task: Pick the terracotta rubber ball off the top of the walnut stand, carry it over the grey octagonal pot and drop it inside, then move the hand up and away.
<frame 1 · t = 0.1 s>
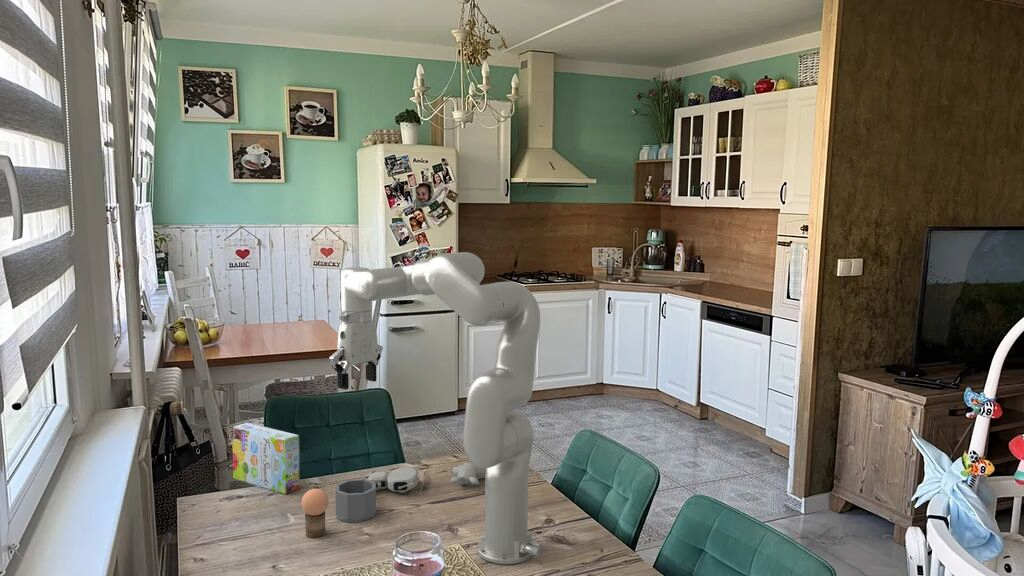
hand: (357, 384, 178), 31 cm above the table, tool pointing down, fingers open, 9 cm apart
ball: (315, 502, 164), point 8 cm above the table, touching stand
bunny figurine: (468, 483, 197), on the table
stand: (315, 533, 165), on the table
snack box: (266, 484, 194), on the table
robot toy: (390, 489, 192), on the table
grey octagonal pot: (356, 513, 176), on the table
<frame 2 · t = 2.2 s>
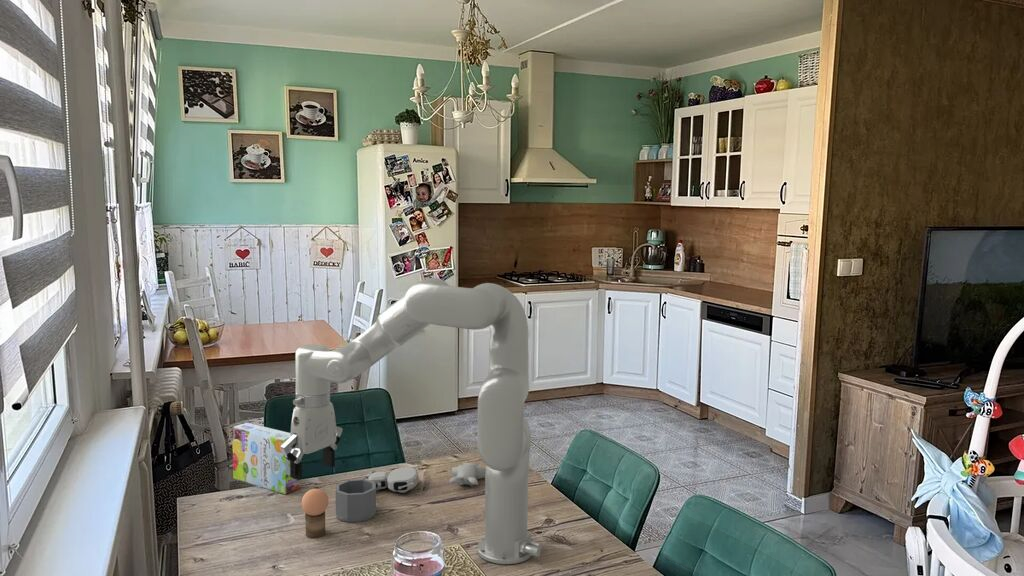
hand: (312, 472, 163), 15 cm above the table, tool pointing down, fingers open, 9 cm apart
nothing on the table moved.
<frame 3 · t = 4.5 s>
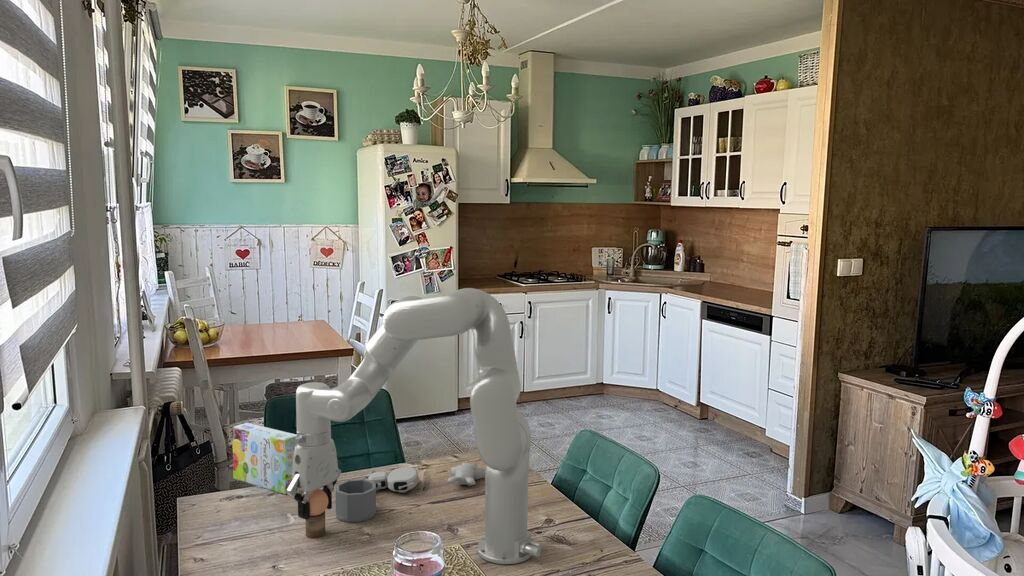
hand: (315, 512, 164), 5 cm above the table, tool pointing down, fingers closed on ball, 6 cm apart
ball: (315, 502, 164), point 8 cm above the table, touching gripper, stand
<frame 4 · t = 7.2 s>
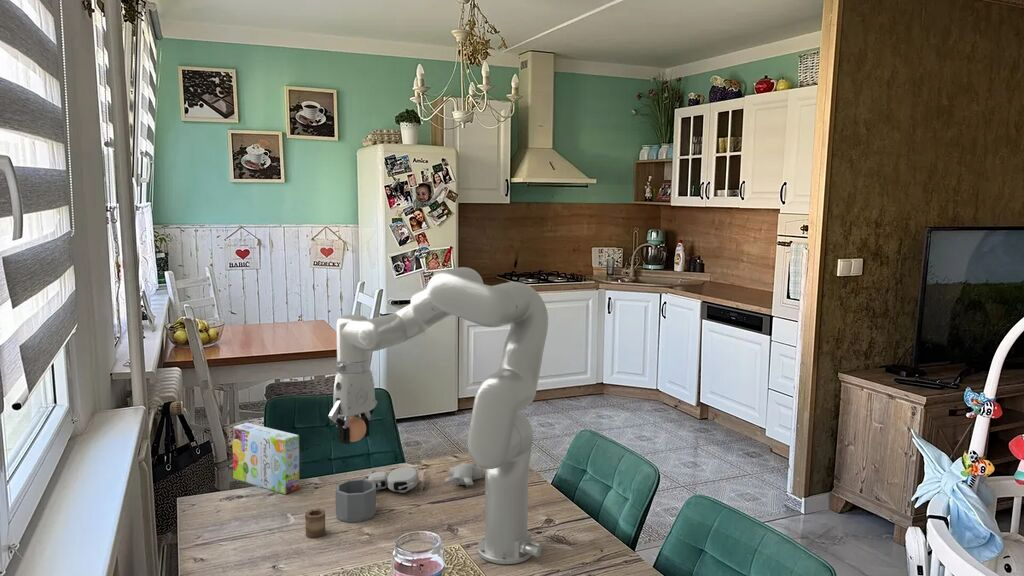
hand: (354, 438, 173), 19 cm above the table, tool pointing down, fingers closed on ball, 6 cm apart
ball: (353, 429, 173), point 22 cm above the table, touching gripper
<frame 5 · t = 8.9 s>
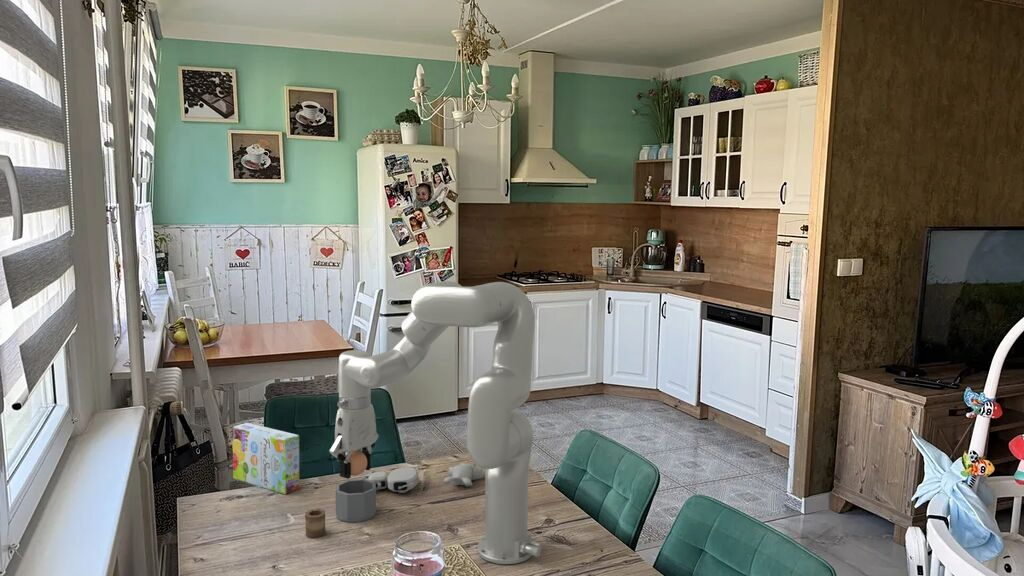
hand: (355, 472, 175), 11 cm above the table, tool pointing down, fingers closed on ball, 6 cm apart
ball: (354, 463, 174), point 13 cm above the table, touching gripper
when the fingers open (10 cm above the table, at t = 10.3 s): ball drops 8 cm, resting on grey octagonal pot.
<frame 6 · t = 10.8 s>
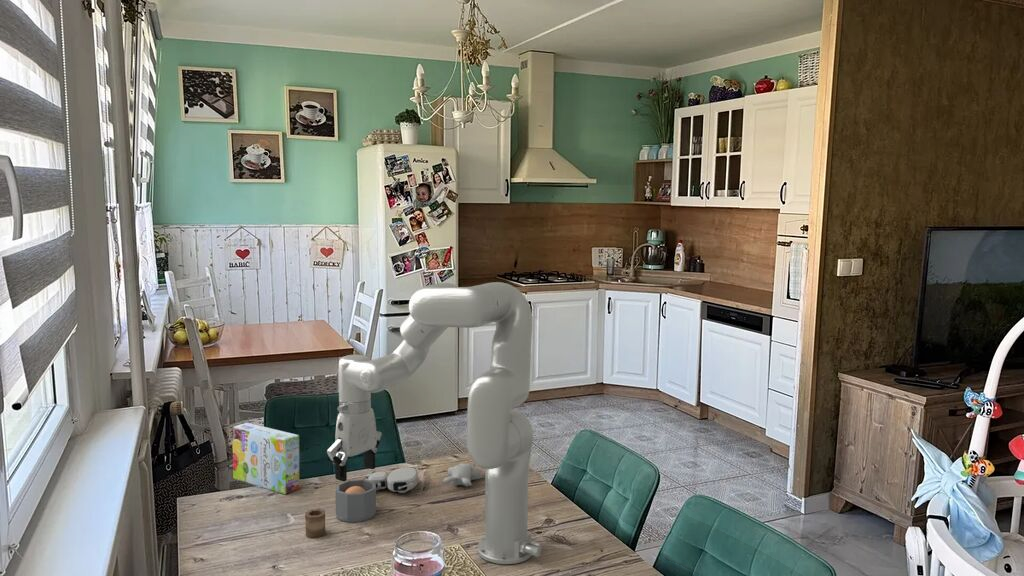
hand: (355, 473, 175), 10 cm above the table, tool pointing down, fingers open, 9 cm apart
ball: (355, 498, 175), point 4 cm above the table, tilted 6°, touching grey octagonal pot
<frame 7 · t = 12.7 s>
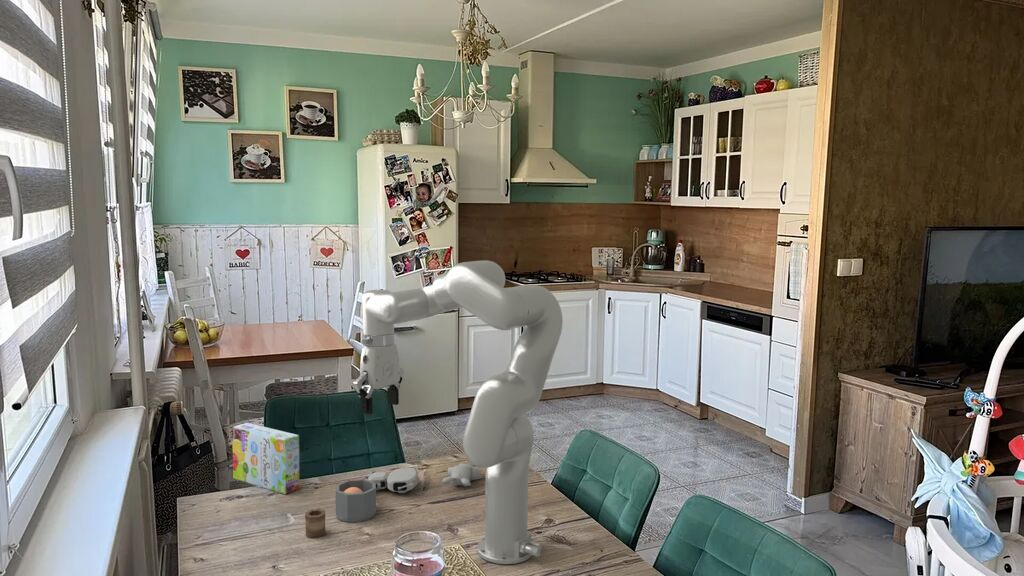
hand: (380, 408, 176), 26 cm above the table, tool pointing down, fingers open, 9 cm apart
ball: (352, 499, 175), point 4 cm above the table, tilted 21°, touching grey octagonal pot
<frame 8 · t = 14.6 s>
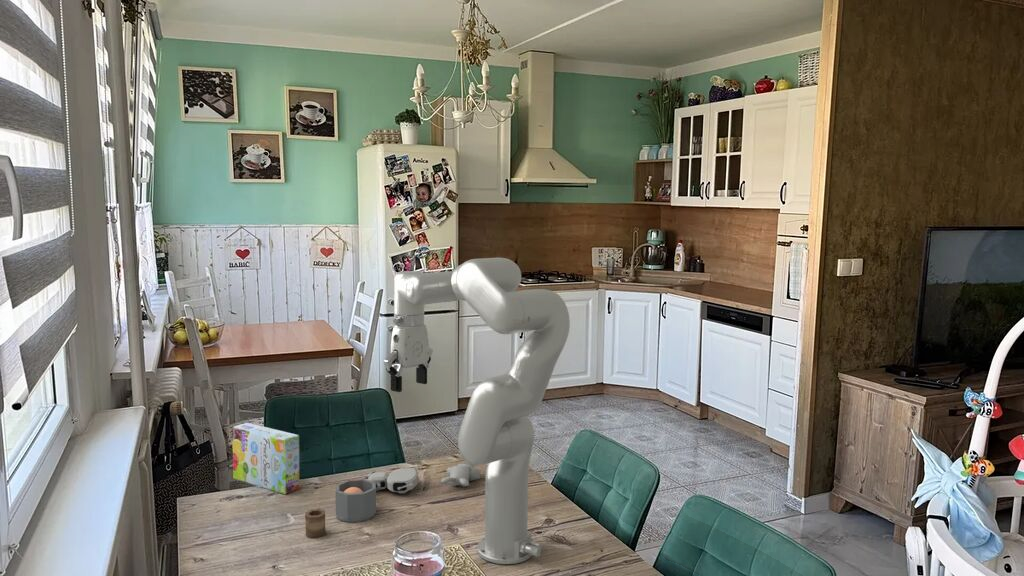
hand: (409, 387, 180), 30 cm above the table, tool pointing down, fingers open, 9 cm apart
at the end: ball 0.9 cm off-centre on the grey octagonal pot, point 4.0 cm above the grey octagonal pot's base; the gripper is holding nothing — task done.
